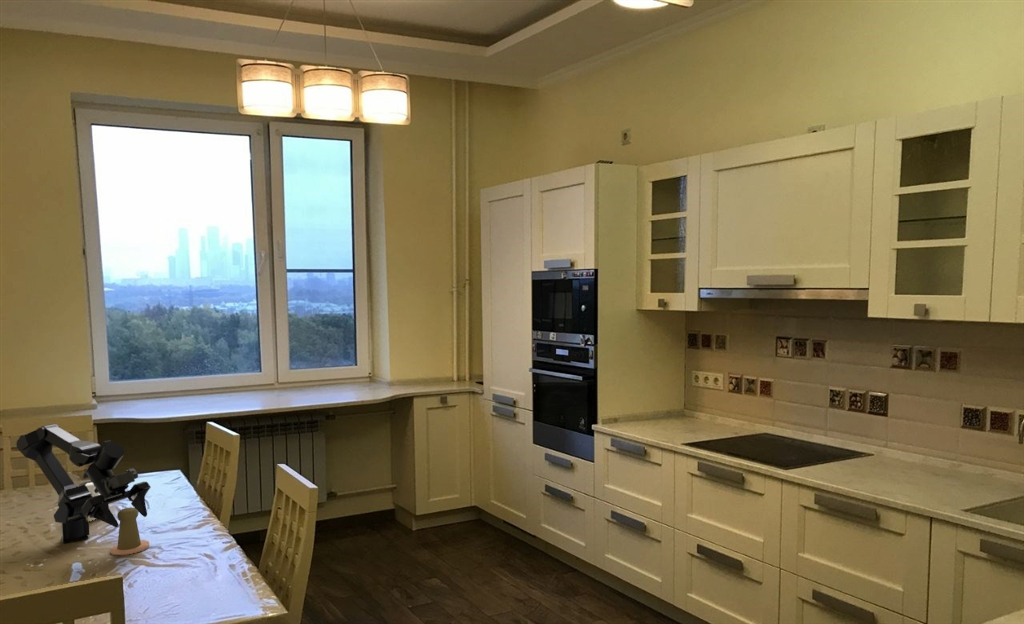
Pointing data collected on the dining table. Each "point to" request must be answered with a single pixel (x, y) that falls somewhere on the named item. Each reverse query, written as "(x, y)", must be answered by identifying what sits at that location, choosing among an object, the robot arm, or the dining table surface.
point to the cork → (128, 529)
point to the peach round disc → (116, 551)
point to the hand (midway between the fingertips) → (132, 521)
